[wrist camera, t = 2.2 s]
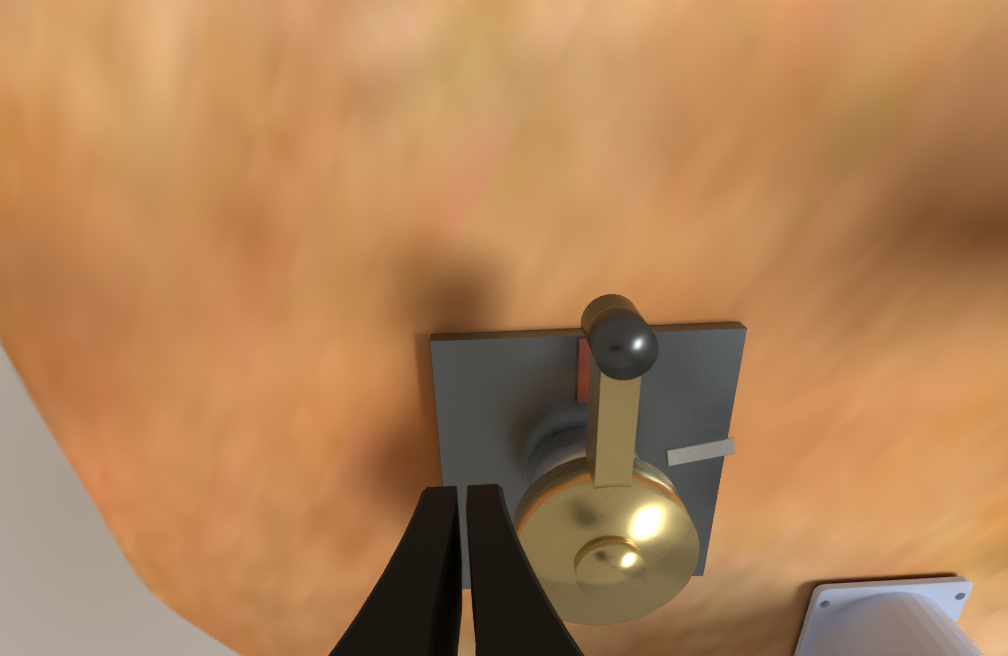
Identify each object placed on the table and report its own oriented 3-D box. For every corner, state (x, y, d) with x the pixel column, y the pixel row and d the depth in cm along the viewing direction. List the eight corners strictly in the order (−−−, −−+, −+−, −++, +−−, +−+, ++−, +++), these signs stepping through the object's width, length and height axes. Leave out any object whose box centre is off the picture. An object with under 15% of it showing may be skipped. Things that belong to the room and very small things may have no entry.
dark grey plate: (705, 565, 27) (734, 624, 24) (452, 579, 26) (449, 641, 23) (749, 321, 21) (792, 359, 18) (431, 334, 21) (424, 375, 18)
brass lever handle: (671, 577, 22) (694, 634, 20) (513, 586, 22) (518, 645, 20) (713, 290, 17) (749, 322, 15) (507, 298, 17) (512, 332, 14)
